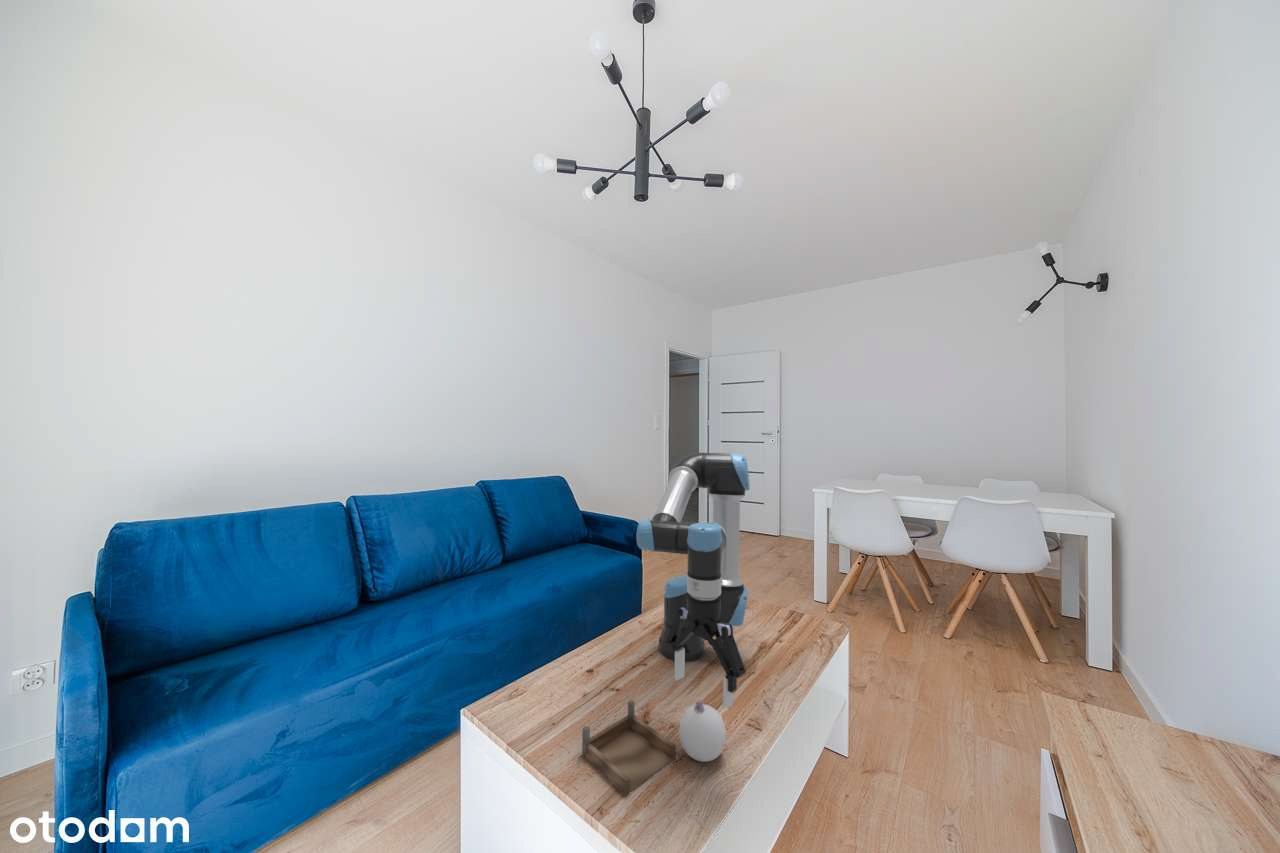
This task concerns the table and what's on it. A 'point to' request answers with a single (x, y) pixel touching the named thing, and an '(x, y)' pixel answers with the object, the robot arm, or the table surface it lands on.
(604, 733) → the keeper
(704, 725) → the ornament
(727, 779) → the table surface
